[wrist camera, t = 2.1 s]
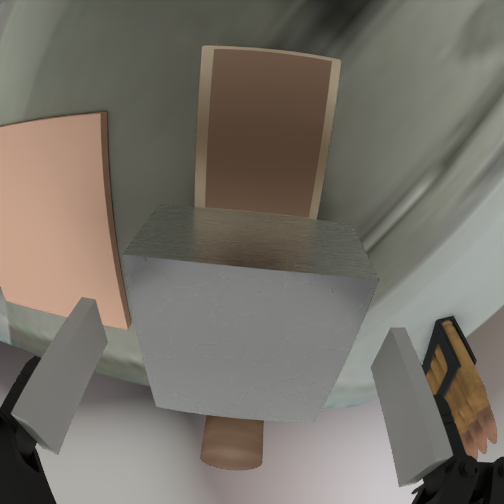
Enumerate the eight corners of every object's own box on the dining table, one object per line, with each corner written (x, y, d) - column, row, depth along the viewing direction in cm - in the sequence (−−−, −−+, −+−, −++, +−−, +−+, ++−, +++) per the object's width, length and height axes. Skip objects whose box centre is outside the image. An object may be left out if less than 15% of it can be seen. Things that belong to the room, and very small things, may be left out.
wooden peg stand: (221, 57, 13) (156, 21, 5) (319, 66, 14) (393, 45, 5) (210, 358, 25) (191, 467, 16) (270, 364, 25) (268, 475, 16)
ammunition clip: (436, 319, 22) (490, 442, 12) (454, 315, 22) (511, 432, 11) (413, 390, 27) (439, 488, 17) (428, 386, 27) (456, 481, 17)
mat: (-30, 133, 15) (-36, 136, 14) (107, 111, 15) (100, 113, 14) (10, 295, 23) (6, 300, 22) (131, 322, 23) (127, 329, 22)
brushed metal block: (159, 204, 12) (121, 254, 9) (350, 223, 13) (379, 279, 9) (172, 350, 17) (156, 406, 14) (309, 363, 17) (314, 421, 14)
